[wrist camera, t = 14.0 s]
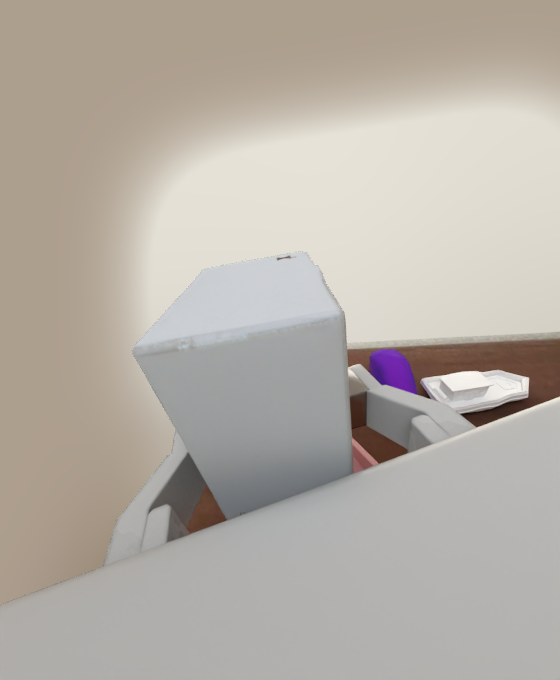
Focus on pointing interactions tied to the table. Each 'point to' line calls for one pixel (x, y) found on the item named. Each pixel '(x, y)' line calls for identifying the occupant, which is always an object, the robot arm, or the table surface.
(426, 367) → the table surface
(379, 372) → the purple rounded wedge
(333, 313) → the cosmetic box
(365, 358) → the table surface
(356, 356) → the table surface
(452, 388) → the white toy boat
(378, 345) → the table surface
